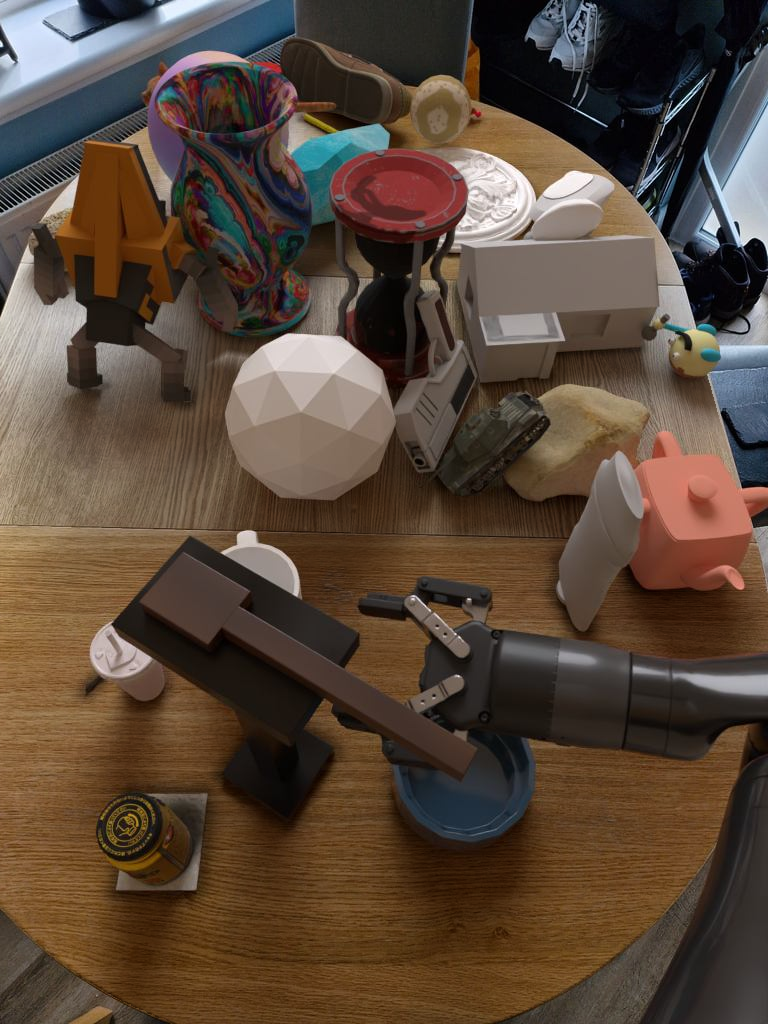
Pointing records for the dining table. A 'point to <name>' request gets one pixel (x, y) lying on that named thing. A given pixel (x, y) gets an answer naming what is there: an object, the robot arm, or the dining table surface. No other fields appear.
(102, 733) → the dining table surface
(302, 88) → the boat shoe
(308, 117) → the pencil
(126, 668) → the smoothie
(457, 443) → the toy tank
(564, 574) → the tall pale column
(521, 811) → the bowl
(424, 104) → the mushroom
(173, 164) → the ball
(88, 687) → the stick
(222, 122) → the vase
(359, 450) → the geometric sculpture
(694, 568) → the teapot
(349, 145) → the crystal
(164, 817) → the condiment
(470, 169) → the ceiling medallion
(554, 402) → the stone
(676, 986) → the robot arm
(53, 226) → the decorative item
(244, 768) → the black pedestal stand
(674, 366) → the figurine
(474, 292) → the miniature house
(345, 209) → the hourglass
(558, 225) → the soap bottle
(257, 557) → the mug
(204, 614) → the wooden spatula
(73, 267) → the toy robot
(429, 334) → the futuristic handgun
